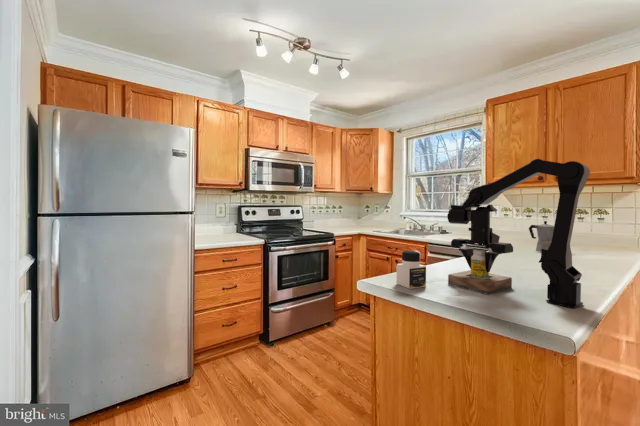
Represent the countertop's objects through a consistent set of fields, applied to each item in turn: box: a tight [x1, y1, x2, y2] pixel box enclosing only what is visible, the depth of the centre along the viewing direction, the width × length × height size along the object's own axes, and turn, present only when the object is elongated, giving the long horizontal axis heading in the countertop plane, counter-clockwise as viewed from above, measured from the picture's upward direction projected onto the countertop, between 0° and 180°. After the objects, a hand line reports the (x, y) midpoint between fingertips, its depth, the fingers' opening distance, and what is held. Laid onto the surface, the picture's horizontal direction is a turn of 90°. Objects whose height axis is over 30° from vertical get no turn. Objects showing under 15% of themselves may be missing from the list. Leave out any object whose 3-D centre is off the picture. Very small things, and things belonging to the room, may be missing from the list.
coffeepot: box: [528, 220, 554, 253], centre depth 181 cm, size 15×9×18 cm, turn 79°
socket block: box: [447, 269, 513, 295], centre depth 103 cm, size 14×14×4 cm
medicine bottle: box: [396, 249, 427, 290], centre depth 104 cm, size 7×7×12 cm
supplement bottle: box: [470, 248, 490, 279], centre depth 103 cm, size 5×5×10 cm
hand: (479, 270), depth 103 cm, fingers closed on supplement bottle, 5 cm apart
